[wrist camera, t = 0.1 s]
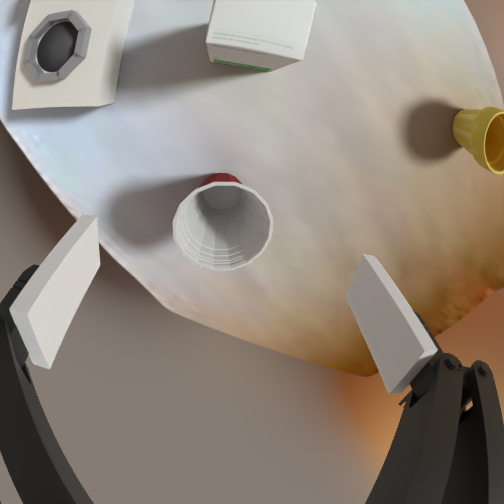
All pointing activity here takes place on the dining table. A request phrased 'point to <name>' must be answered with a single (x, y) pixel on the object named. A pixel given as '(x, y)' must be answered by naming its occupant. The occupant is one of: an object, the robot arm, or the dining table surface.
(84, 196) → the dining table surface
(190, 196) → the plastic cup
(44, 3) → the camera body
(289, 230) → the dining table surface
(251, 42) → the skincare box
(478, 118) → the plant pot
